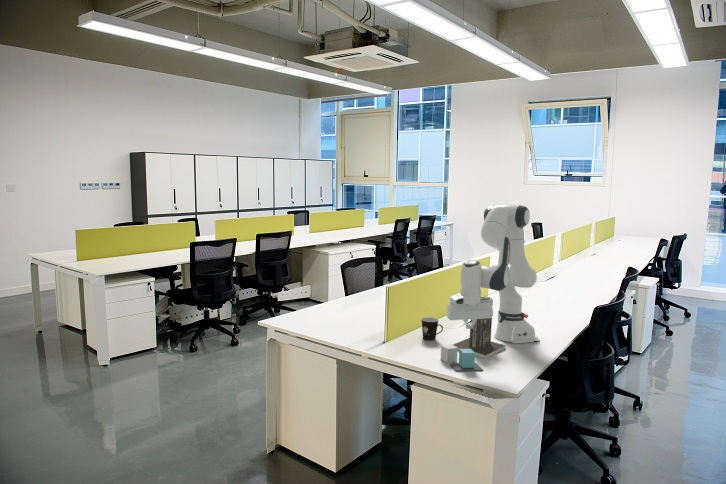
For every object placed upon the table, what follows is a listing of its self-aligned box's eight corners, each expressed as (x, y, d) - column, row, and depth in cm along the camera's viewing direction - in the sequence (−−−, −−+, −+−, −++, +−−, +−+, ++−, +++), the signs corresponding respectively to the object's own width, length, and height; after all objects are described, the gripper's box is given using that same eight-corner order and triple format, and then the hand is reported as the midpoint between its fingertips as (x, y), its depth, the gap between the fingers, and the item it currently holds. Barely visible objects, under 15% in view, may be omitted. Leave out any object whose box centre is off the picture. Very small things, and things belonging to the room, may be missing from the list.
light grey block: (449, 357, 226) (450, 343, 225) (456, 361, 221) (457, 347, 220) (440, 359, 223) (441, 345, 222) (447, 363, 219) (448, 349, 218)
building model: (471, 340, 253) (473, 306, 251) (508, 349, 240) (510, 314, 238) (450, 349, 239) (452, 313, 236) (488, 359, 225) (490, 322, 223)
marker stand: (476, 364, 219) (476, 348, 218) (482, 370, 211) (483, 355, 210) (450, 364, 217) (450, 349, 216) (455, 371, 209) (456, 355, 208)
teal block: (470, 363, 217) (470, 348, 216) (474, 367, 212) (475, 352, 211) (458, 363, 216) (459, 349, 215) (462, 368, 211) (463, 353, 210)
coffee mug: (417, 336, 256) (418, 317, 254) (432, 335, 259) (433, 316, 257) (428, 343, 245) (429, 324, 244) (443, 342, 248) (444, 322, 247)
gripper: (490, 295, 219) (489, 325, 221) (445, 297, 216) (445, 327, 218) (496, 298, 213) (494, 329, 215) (450, 300, 210) (449, 332, 212)
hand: (469, 328), depth 217 cm, fingers closed
